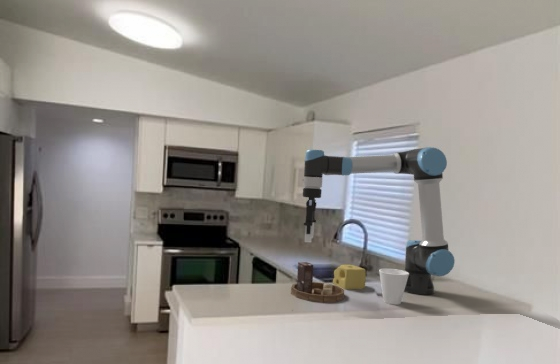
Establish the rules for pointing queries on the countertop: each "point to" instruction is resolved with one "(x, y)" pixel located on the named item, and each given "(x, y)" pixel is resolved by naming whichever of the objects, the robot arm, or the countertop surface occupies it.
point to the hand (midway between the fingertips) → (309, 240)
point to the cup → (393, 285)
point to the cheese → (349, 277)
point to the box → (305, 277)
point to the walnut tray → (318, 297)
